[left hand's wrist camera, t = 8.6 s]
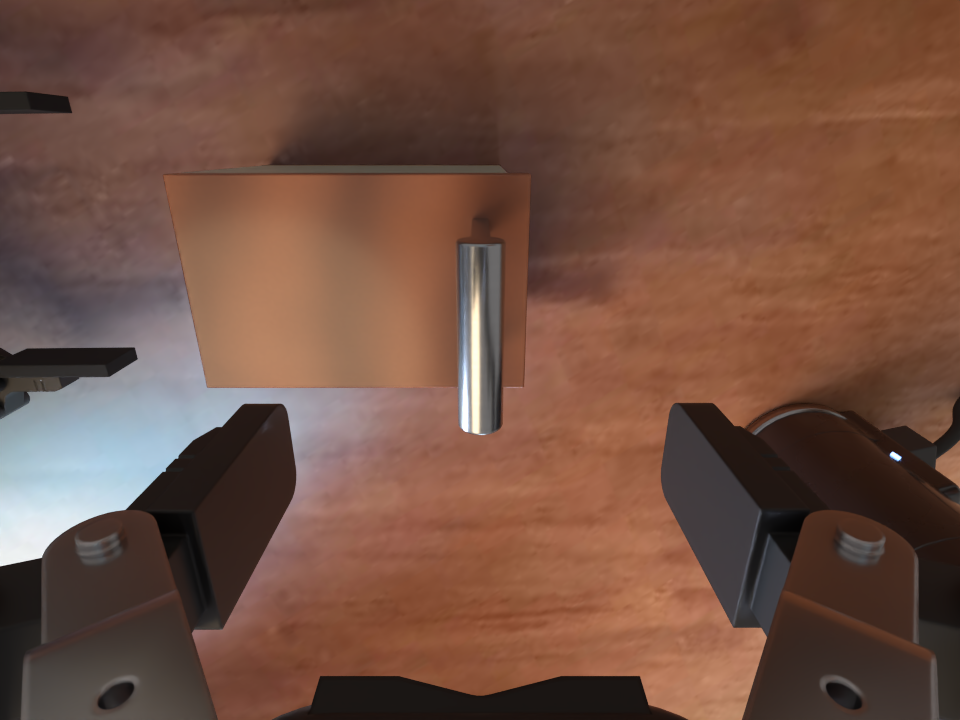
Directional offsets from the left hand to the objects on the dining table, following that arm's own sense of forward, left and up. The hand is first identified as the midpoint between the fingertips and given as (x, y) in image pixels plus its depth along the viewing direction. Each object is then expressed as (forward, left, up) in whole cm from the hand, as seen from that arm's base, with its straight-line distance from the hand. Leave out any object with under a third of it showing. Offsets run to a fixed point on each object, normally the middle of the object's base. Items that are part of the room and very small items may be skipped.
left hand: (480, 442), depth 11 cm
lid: (+5, -1, -14) cm, 15 cm away
